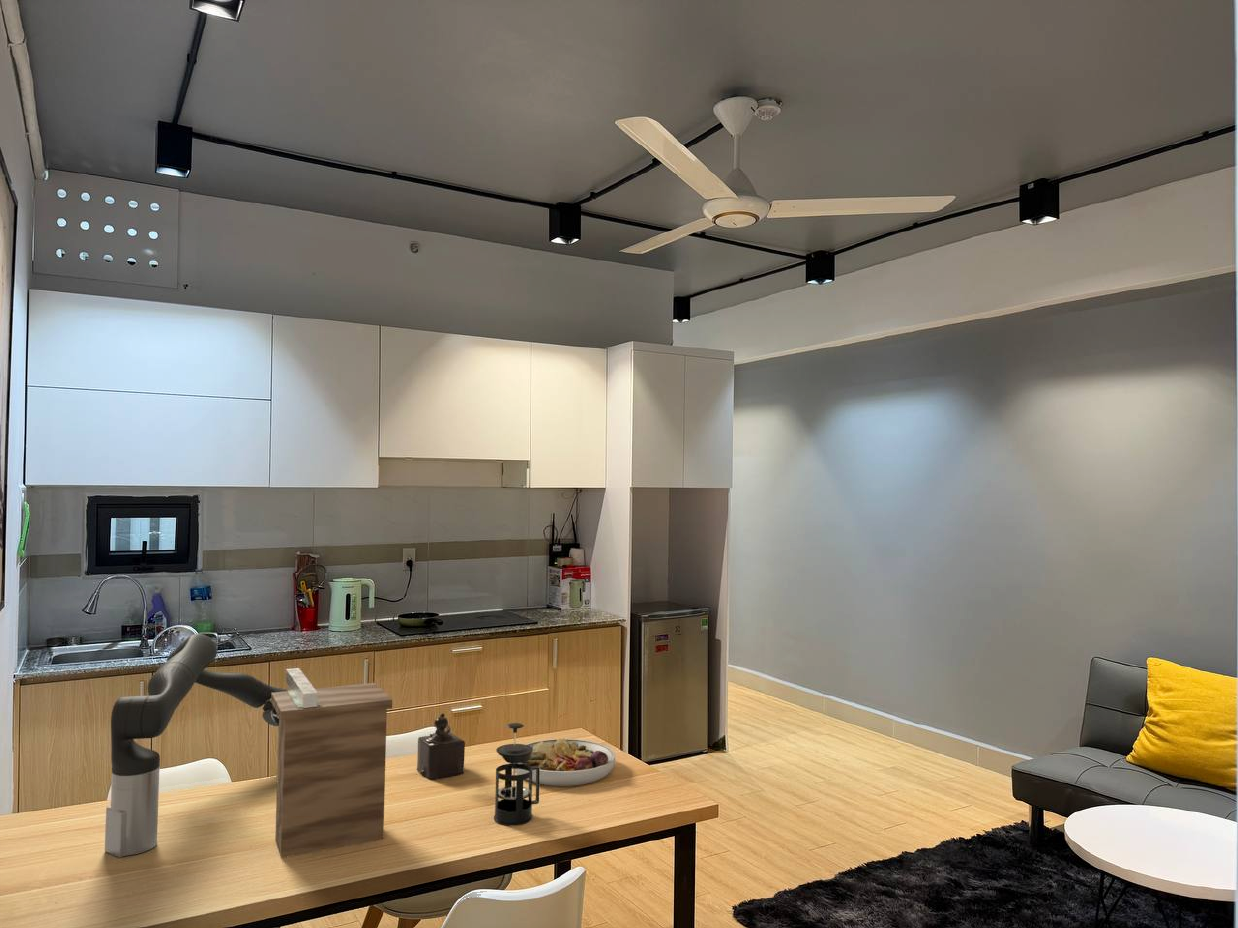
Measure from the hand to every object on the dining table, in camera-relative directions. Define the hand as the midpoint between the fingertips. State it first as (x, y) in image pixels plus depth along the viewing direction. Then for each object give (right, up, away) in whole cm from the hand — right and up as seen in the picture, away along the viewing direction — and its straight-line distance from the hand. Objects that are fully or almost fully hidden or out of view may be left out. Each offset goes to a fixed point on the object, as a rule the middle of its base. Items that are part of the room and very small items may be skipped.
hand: (292, 716), depth 216 cm
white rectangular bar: (+10, +12, -21) cm, 26 cm away
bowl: (+69, -23, +23) cm, 77 cm away
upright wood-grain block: (+17, -20, -23) cm, 36 cm away
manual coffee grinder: (+35, -22, +18) cm, 45 cm away
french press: (+59, -22, -12) cm, 64 cm away
